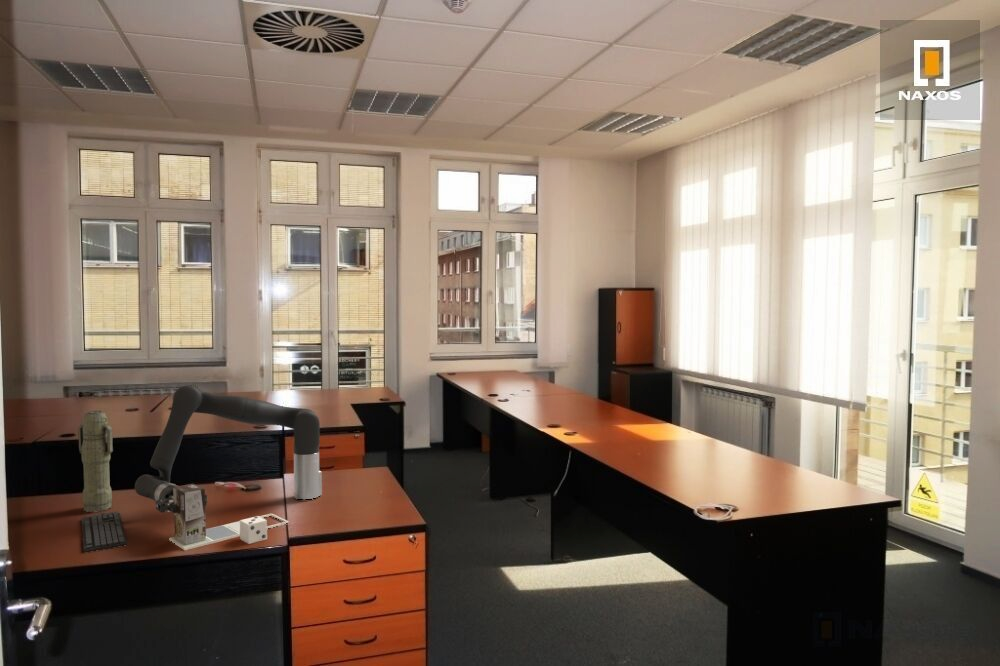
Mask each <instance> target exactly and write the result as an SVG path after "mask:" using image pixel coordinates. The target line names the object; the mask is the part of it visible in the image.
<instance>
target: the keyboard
mask: <svg viewBox="0 0 1000 666" xmlns="http://www.w3.org/2000/svg"><path fill="white" fill-rule="evenodd" d="M120 513H121V512H118V511H112V512H111V511H110V512H101V513H96V514H95V513H94V514H91V516H85V517H81V529H82V530H81V533H82V543H83V553H84V552H88V553H91V552H90V551H94V552H97V551H96V550H99V551H104V550H103V549H105V550H109V549H108V548H111V549H114V548H113V547H117V548H119V547H118V546H123V547H125V546H124V545H127V546H128V541H127V538H126V533H125V530H124V525H123V521H122V516H121V514H120Z"/></svg>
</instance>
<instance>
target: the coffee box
mask: <svg viewBox="0 0 1000 666" xmlns="http://www.w3.org/2000/svg"><path fill="white" fill-rule="evenodd" d="M173 493H174V505H176V506H177V508H178V513H173V517H174V537H175V538H176V539H178V540H179V541H181V542H183V543H184V544H191V543H195V542H199V541H203V540H206V529H207V527H206V525H207V524H206V507H205V495H206V487H205V488H204V487H202V486H200V485H198V484H195V483H189V484H188V483H187V484H185V485H181V486H179V487H174V488H173Z"/></svg>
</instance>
